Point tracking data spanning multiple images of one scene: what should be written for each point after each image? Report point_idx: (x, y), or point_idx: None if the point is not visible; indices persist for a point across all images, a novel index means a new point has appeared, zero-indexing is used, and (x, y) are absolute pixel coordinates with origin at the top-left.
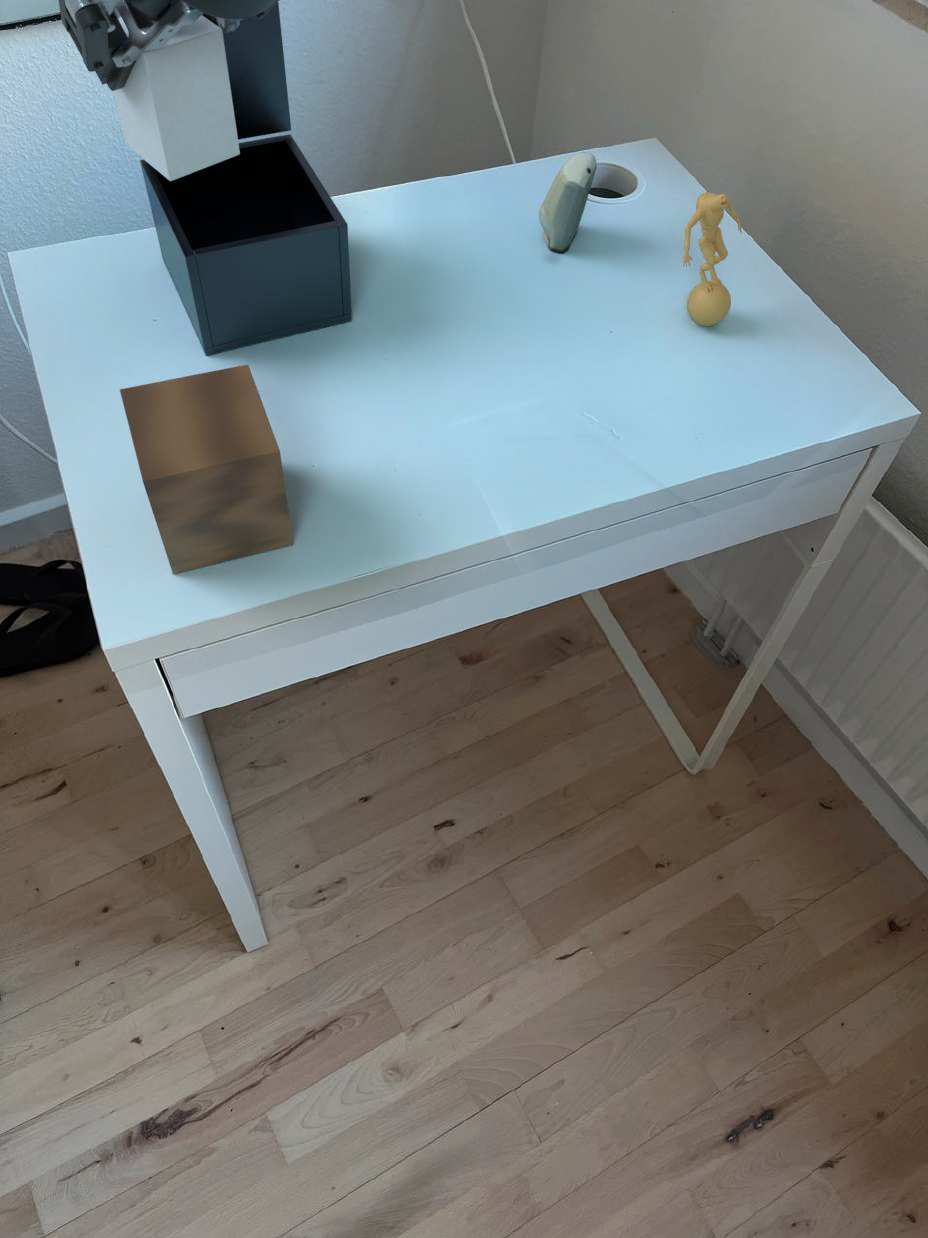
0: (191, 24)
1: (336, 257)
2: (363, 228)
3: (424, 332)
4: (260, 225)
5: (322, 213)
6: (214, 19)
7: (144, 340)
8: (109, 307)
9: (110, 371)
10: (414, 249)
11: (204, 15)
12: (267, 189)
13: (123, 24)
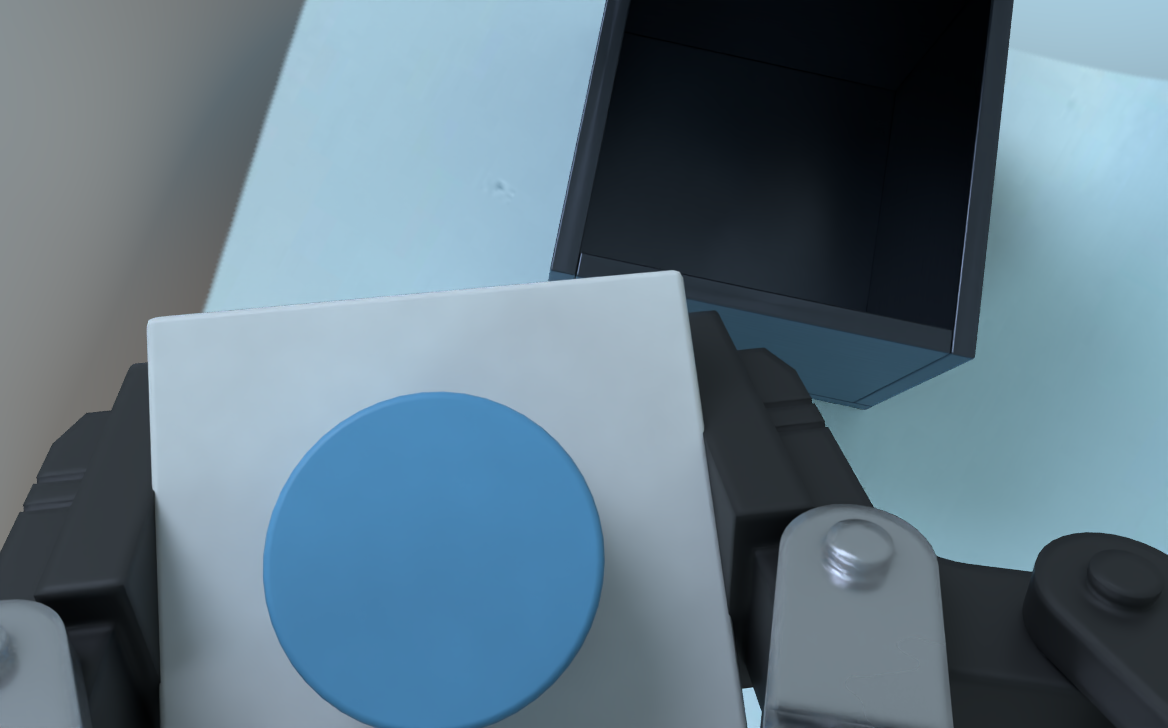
0: (613, 675)
1: (904, 370)
2: (1039, 150)
3: (989, 527)
4: (831, 61)
5: (946, 244)
6: (762, 704)
7: (450, 230)
8: (436, 100)
9: (346, 280)
10: (1106, 271)
11: (733, 610)
12: (887, 24)
13: (253, 472)
